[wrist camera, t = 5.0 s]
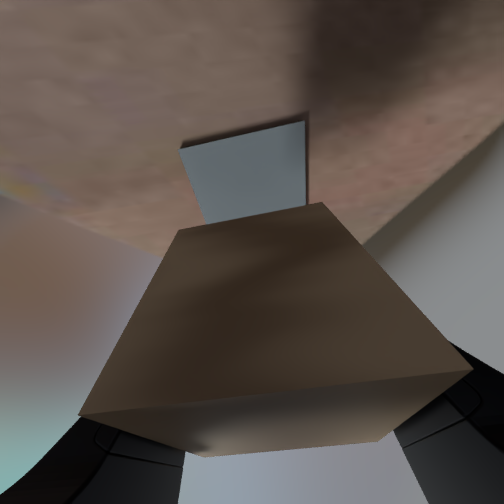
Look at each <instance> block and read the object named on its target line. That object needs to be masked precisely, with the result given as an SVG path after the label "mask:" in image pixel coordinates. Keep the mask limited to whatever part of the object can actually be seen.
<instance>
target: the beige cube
mask: <svg viewBox="0 0 504 504" xmlns="http://www.w3.org/2000/svg"><path fill="white" fill-rule="evenodd" d="M472 370H473V368H472V367H471V365H470V364H469V363H468V362H467V361H466V360H465V359H464V358H463V357H462V356H461V354H460V353H459V352H458V351H457V350H456V349H455V348H454V347H453V346H452V345H451V343H450V342H449V341H448V340H447V339H446V338H445V337H444V336H443V335H442V334H441V332H440V331H439V330H438V329H437V328H436V327H435V326H434V325H433V324H432V323H431V322H430V320H429V319H428V318H427V317H426V316H425V315H424V314H423V313H422V312H421V310H419V308H418V307H417V306H416V305H415V304H414V303H413V302H412V301H411V299H410V298H409V297H408V296H407V295H406V294H405V293H404V292H403V291H402V289H401V288H400V287H399V286H398V285H397V284H396V283H395V282H394V281H393V280H392V279H391V278H390V276H389V275H388V274H387V273H386V272H385V271H384V270H383V269H382V267H381V266H380V265H379V264H378V263H377V262H376V261H375V260H374V259H373V258H372V257H371V255H370V254H369V253H368V252H367V251H366V250H365V249H364V248H363V247H362V245H361V244H360V243H359V242H358V241H357V240H356V239H355V238H354V237H353V236H352V234H351V233H350V232H349V231H348V230H347V229H346V228H345V227H344V226H343V225H342V223H341V222H340V221H339V220H338V219H337V218H336V217H335V216H334V215H333V213H332V212H331V211H330V210H329V209H328V208H327V207H326V206H325V205H324V204H323V202H319V203H314V204H309V205H304V206H298V207H293V208H288V209H283V210H278V211H273V212H268V213H263V214H258V215H252V216H247V217H242V218H237V219H232V220H227V221H222V222H217V223H211V224H206V225H201V226H196V227H191V228H186V229H181V230H178V232H177V234H176V236H175V238H174V240H173V241H172V243H171V245H170V247H169V249H168V251H167V252H166V254H165V256H164V258H163V260H162V262H161V264H160V265H159V267H158V269H157V271H156V273H155V275H154V276H153V278H152V280H151V282H150V284H149V285H148V287H147V289H146V291H145V293H144V295H143V297H142V298H141V300H140V302H139V304H138V306H137V307H136V309H135V311H134V313H133V315H132V317H131V318H130V320H129V322H128V324H127V326H126V328H125V329H124V331H123V333H122V335H121V337H120V339H119V340H118V342H117V344H116V346H115V348H114V350H113V352H112V353H111V355H110V357H109V359H108V361H107V363H106V364H105V366H104V368H103V370H102V372H101V374H100V375H99V377H98V379H97V381H96V383H95V384H94V386H93V388H92V390H91V392H90V394H89V395H88V397H87V399H86V401H85V403H84V405H83V407H82V408H81V410H80V412H79V414H78V415H79V416H81V417H84V418H87V419H90V420H93V421H96V422H99V423H102V424H105V425H108V426H111V427H114V428H117V429H120V430H123V431H126V432H129V433H132V434H135V435H138V436H141V437H144V438H147V439H150V440H153V441H156V442H159V443H162V444H165V445H168V446H171V447H174V448H177V449H180V450H183V451H187V452H189V453H192V454H195V455H198V456H201V457H214V456H223V455H224V456H225V455H236V454H246V453H257V452H268V451H279V450H290V449H301V448H312V447H323V446H334V445H345V444H356V443H366V442H378V441H379V440H380V439H382V438H383V437H384V436H386V435H387V434H388V433H390V432H391V431H392V430H394V429H395V428H396V427H398V426H399V425H400V424H402V423H403V422H404V421H406V420H407V419H408V418H410V417H411V416H412V415H414V414H415V413H416V412H418V411H419V410H420V409H421V408H423V407H424V406H425V405H427V404H428V403H429V402H431V401H432V400H433V399H435V398H436V397H437V396H439V395H440V394H441V393H443V392H444V391H445V390H447V389H448V388H449V387H451V386H452V385H453V384H455V383H456V382H457V381H459V380H460V379H461V378H463V377H464V376H465V375H467V374H468V373H469V372H471V371H472Z"/></svg>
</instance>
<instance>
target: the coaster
mask: <svg viewBox="0 0 504 504" xmlns="http://www.w3.org/2000/svg"><path fill="white" fill-rule="evenodd" d="M178 152H179V154H180V157H181V159H182V162H183V165H184V167H185V170H186V172H187V175H188V178H189V180H190V183H191V185H192V188H193V190H194V193H195V196H196V198H197V201H198V203H199V206H200V209H201V211H202V214H203V216H204V219H205V222H206V224H211V223H217V222H222V221H227V220H232V219H237V218H242V217H247V216H252V215H258V214H263V213H268V212H273V211H278V210H283V209H288V208H293V207H298V206H304V205H306V182H305V121H303V120H302V121H298V122H294V123H289V124H285V125H280V126H276V127H272V128H267V129H263V130H259V131H254V132H250V133H246V134H241V135H237V136H232V137H228V138H224V139H219V140H215V141H211V142H206V143H202V144H198V145H193V146H189V147H184V148H180V149H178Z"/></svg>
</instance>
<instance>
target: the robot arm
mask: <svg viewBox="0 0 504 504" xmlns="http://www.w3.org/2000/svg"><path fill="white" fill-rule="evenodd" d="M449 342H450V341H449ZM450 343H451V342H450ZM451 345H452V346H453V347H454V348H455V349H456V350H457V351H458V352H459V353H460V354H461V356H462V357H463V358H464V359H465V360H466V361H467V362H468V363H469V364H470V365H471V367H472V368H473V370H472V371H471V372H469V373H468V374H467V375H465V376H464V377H463V378H461V379H460V380H459V381H457V382H456V383H455V384H453V385H452V386H451V387H449V388H448V389H447V390H445V391H444V392H443V393H441V394H440V395H439V396H437V397H436V398H435V399H433V400H432V401H431V402H429V403H428V404H427V405H425V406H424V407H423V408H421V409H420V410H419V411H418V412H416V413H415V414H414V415H412V416H411V417H410V418H408V419H407V420H406V421H404V422H403V423H402V424H400V425H399V426H398V427H396V428H395V429H394V430H393V431H394V433H395V435H396V437H397V439H398V441H399V443H400V445H401V447H402V450H403V452H404V454H405V456H406V458H407V460H408V462H409V464H410V466H411V468H412V470H413V472H414V474H415V477H416V479H417V480H418V483H419V485H420V487H421V489H422V491H423V493H424V495H425V497H426V499H427V501H428V503H429V504H504V374H503V373H501V372H499V371H497V370H495V369H494V368H492V367H490V366H489V365H487V364H485V363H484V362H482V361H480V360H479V359H477V358H475V357H474V356H472V355H470V354H469V353H467V352H465V351H464V350H462V349H461V348H459V347H457V346H456V345H454V344H453V343H451ZM184 458H185V451H183V450H180V449H177V448H174V447H171V446H168V445H165V444H162V443H159V442H156V441H153V440H150V439H147V438H144V437H141V436H138V435H135V434H132V433H129V432H126V431H123V430H120V429H117V428H114V427H111V426H108V425H105V424H102V423H99V422H96V421H93V420H90V419H87V418H84V417H80V418H79V419H78V421H77V422H76V423H75V424H74V425H73V426H72V427H71V428H70V429H69V430H68V431H67V432H66V433H65V434H64V435H63V436H62V438H61V439H60V440H59V441H58V442H57V443H56V444H55V445H54V446H53V447H52V448H51V449H50V450H49V451H48V452H47V453H46V454H45V456H44V457H43V458H42V459H41V460H40V461H39V462H38V463H37V464H36V465H35V466H34V467H33V468H32V469H31V470H30V471H28V472H27V473H26V474H25V475H24V476H23V477H22V478H21V479H19V480H18V481H17V482H16V483H15V484H14V485H12V486H11V487H10V488H8V489H7V490H6V491H4V492H3V493H2V494H0V504H178V498H179V492H180V485H181V478H182V472H183V464H184Z"/></svg>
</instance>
